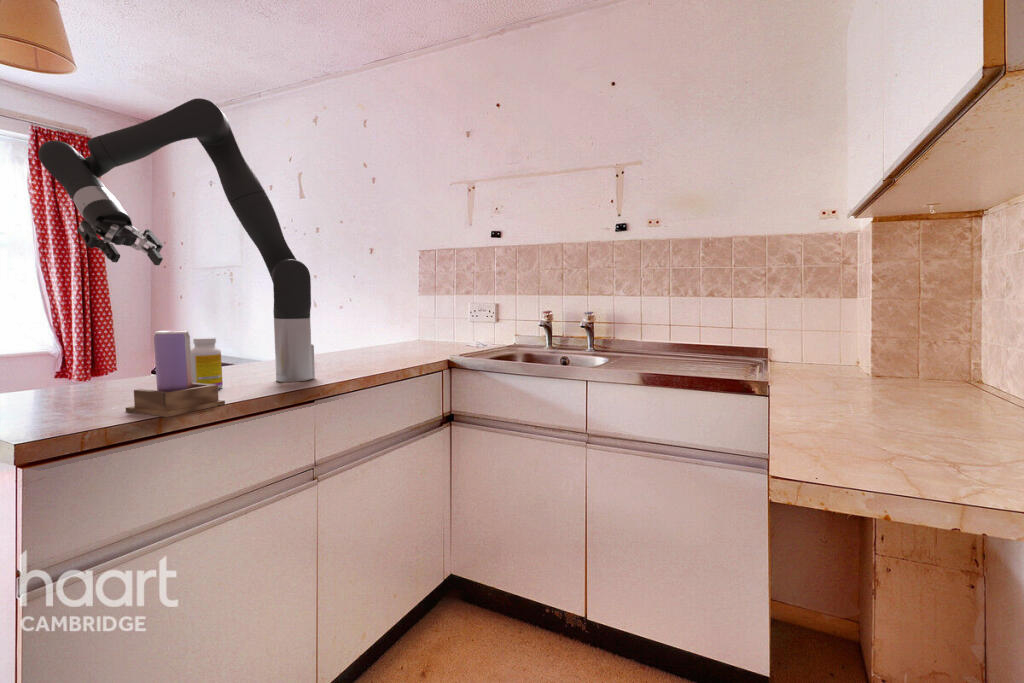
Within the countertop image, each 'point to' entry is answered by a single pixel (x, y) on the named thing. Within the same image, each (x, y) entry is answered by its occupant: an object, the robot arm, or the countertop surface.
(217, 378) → the supplement bottle
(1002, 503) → the countertop surface
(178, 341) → the lavender tall block
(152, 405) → the cradle
